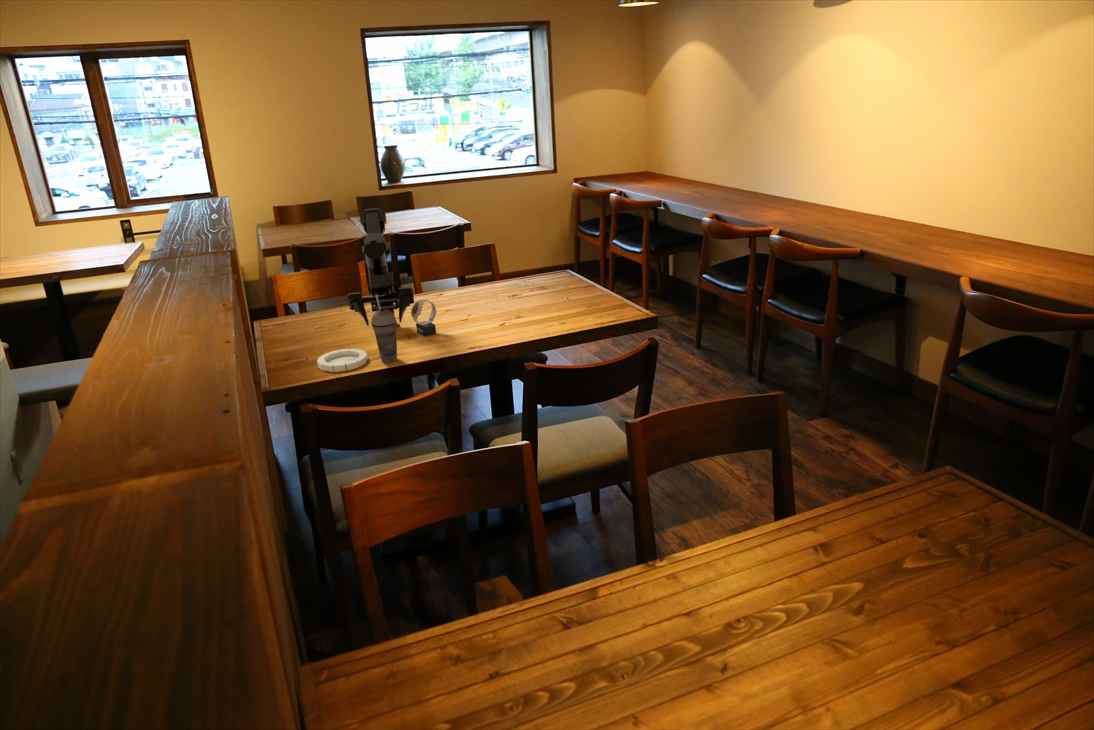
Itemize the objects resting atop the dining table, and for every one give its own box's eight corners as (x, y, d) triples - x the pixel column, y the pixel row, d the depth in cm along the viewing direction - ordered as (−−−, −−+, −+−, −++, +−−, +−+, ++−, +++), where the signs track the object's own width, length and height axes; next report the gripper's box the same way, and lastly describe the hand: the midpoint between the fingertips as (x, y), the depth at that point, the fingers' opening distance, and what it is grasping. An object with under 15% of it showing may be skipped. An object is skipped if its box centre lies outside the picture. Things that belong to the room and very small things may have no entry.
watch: (411, 333, 239) (407, 301, 235) (434, 328, 243) (430, 296, 239) (418, 338, 235) (414, 305, 231) (441, 332, 239) (437, 300, 235)
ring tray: (311, 362, 219) (310, 357, 218) (355, 350, 226) (354, 345, 226) (329, 375, 208) (328, 369, 208) (375, 362, 216) (374, 356, 215)
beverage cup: (396, 364, 213) (387, 298, 206) (372, 364, 215) (362, 298, 207) (405, 355, 220) (397, 291, 213) (382, 355, 221) (373, 291, 214)
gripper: (342, 266, 210) (347, 314, 204) (408, 259, 214) (415, 306, 208) (348, 286, 220) (352, 332, 214) (411, 279, 224) (417, 325, 218)
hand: (384, 323), depth 213 cm, fingers open, 9 cm apart
